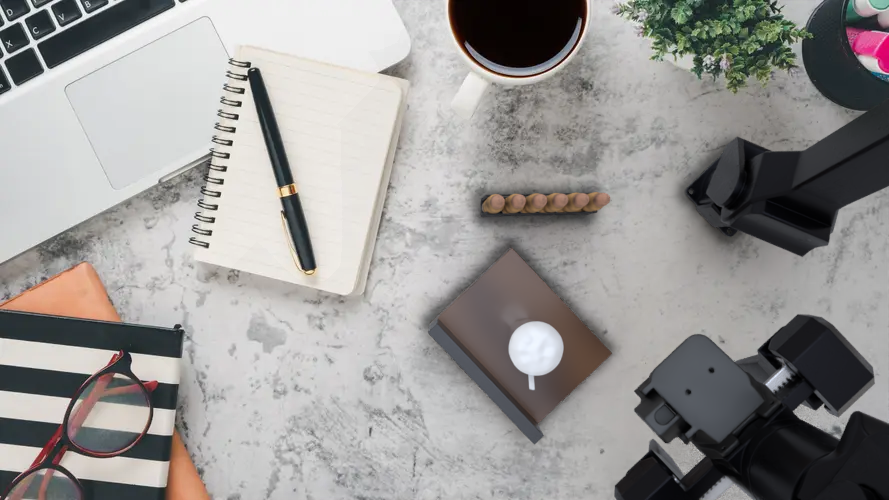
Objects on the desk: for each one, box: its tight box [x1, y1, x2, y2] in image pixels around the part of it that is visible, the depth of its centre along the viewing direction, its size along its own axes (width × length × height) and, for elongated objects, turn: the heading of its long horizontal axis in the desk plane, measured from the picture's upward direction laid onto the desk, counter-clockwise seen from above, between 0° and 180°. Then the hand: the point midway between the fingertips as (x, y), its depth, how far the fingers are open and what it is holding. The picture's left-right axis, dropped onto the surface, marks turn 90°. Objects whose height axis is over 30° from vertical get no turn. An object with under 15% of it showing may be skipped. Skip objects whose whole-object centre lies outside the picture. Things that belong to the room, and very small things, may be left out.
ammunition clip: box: [480, 191, 611, 218], centre depth 59 cm, size 11×2×12 cm, turn 91°
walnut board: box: [427, 247, 613, 445], centre depth 62 cm, size 11×14×6 cm
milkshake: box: [508, 318, 563, 390], centre depth 58 cm, size 4×5×10 cm
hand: (696, 405), depth 53 cm, fingers open, 9 cm apart
